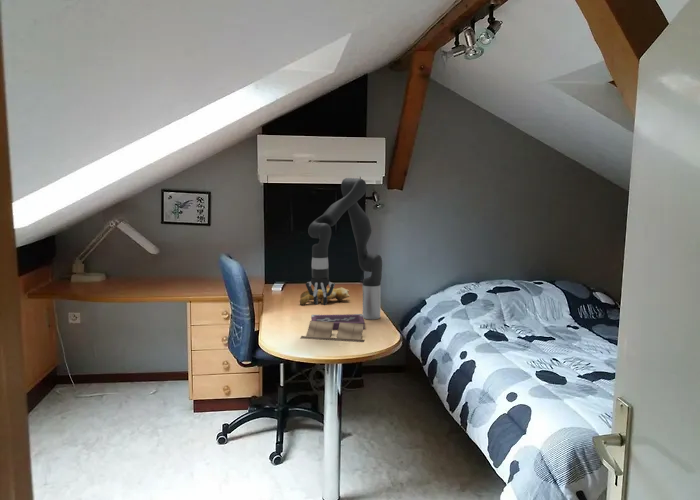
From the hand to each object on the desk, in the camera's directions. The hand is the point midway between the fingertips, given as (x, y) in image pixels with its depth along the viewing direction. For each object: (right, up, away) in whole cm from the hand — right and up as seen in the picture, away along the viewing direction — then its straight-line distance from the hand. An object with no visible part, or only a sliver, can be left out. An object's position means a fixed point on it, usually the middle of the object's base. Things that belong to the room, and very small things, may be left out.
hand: (320, 304), depth 247 cm
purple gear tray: (+7, -14, +17) cm, 23 cm away
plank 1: (0, -12, +1) cm, 12 cm away
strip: (+5, -16, -6) cm, 18 cm away
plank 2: (+14, -12, -2) cm, 19 cm away
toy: (-2, -6, +71) cm, 72 cm away
